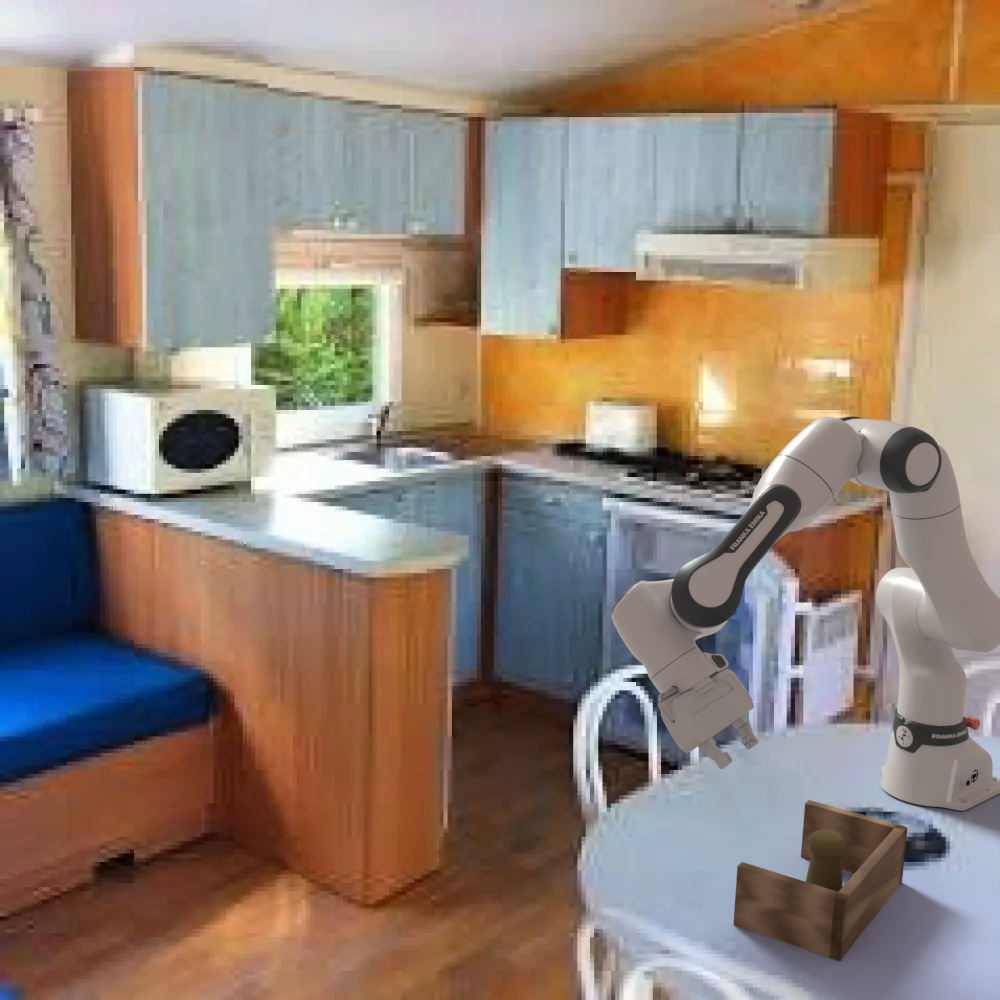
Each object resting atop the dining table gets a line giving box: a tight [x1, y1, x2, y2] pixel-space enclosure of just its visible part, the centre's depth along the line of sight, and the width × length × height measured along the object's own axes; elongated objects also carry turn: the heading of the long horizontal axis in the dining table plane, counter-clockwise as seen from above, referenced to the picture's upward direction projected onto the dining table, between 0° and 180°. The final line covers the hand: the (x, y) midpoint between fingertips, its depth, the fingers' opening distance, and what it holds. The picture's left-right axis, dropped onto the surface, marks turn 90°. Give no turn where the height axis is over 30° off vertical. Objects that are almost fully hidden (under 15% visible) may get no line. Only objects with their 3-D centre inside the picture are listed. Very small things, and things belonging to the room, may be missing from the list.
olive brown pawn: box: [805, 829, 846, 892], centre depth 187 cm, size 6×6×11 cm
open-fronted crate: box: [733, 799, 908, 962], centre depth 187 cm, size 16×27×9 cm, turn 146°
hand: (740, 756), depth 192 cm, fingers open, 8 cm apart
